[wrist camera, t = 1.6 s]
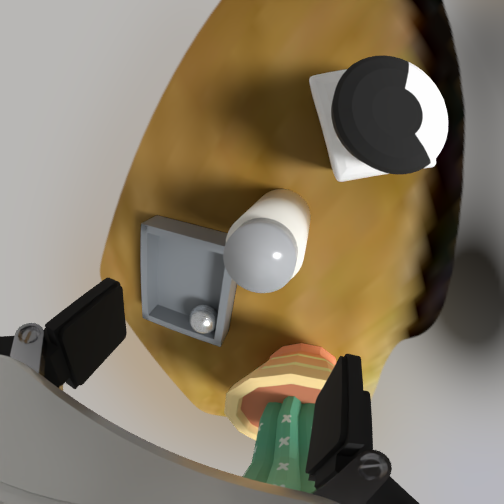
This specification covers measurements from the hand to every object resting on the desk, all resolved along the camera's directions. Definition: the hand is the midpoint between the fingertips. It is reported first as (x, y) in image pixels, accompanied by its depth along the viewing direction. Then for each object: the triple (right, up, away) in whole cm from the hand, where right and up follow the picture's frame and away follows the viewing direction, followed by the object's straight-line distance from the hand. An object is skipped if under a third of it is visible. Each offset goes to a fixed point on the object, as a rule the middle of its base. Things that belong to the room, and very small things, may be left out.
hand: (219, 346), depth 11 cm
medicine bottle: (+11, +15, +10) cm, 21 cm away
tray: (-5, +1, +20) cm, 21 cm away
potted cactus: (+8, -11, +22) cm, 26 cm away
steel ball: (-4, -3, +21) cm, 21 cm away
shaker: (+4, +7, +15) cm, 17 cm away
